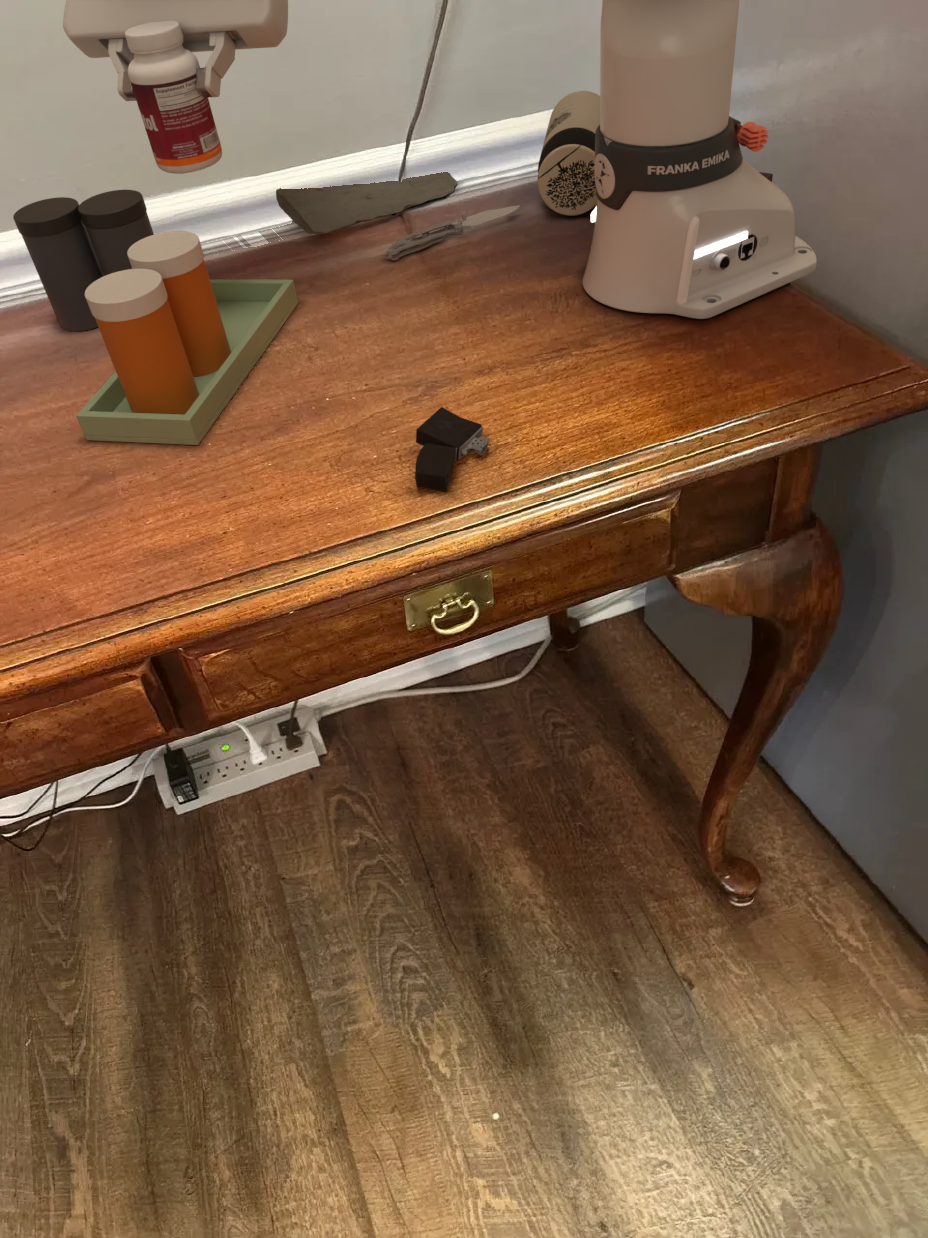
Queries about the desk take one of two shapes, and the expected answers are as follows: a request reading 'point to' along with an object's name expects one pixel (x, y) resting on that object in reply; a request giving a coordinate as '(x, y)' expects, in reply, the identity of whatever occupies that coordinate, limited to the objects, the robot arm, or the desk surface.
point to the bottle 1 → (186, 295)
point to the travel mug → (570, 155)
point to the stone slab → (359, 201)
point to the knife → (442, 232)
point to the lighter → (445, 447)
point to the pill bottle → (171, 99)
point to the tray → (249, 329)
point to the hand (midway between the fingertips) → (168, 95)
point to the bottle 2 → (143, 341)
